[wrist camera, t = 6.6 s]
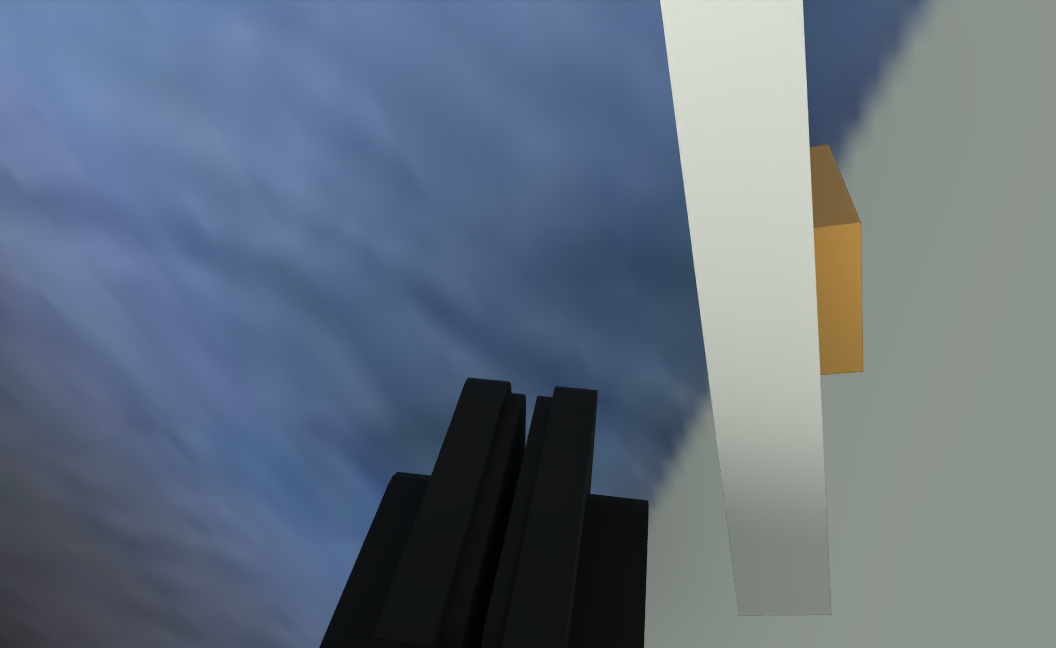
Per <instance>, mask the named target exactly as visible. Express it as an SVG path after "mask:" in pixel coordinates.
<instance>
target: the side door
mask: <svg viewBox="0 0 1056 648" xmlns="http://www.w3.org/2000/svg"><path fill="white" fill-rule="evenodd" d="M660 2H661V10H662V17H663V25H664V33H665V41H666V49H667V56H668V64H669V72H670V80H671V88H672V96H673V103H674V111H675V119H676V127H677V135H678V143H679V150H680V158H681V166H682V174H683V182H684V190H685V197H686V205H687V213H688V221H689V229H690V236H691V244H692V252H693V260H694V268H695V276H696V283H697V291H698V299H699V307H700V315H701V323H702V330H703V338H704V346H705V354H706V362H707V370H708V377H709V385H710V393H711V401H712V409H713V417H714V424H715V432H716V440H717V447H718V456H719V463H720V471H721V479H722V487H723V494H724V502H725V510H726V518H727V525H728V534H729V542H730V549H731V557H732V565H733V573H734V581H735V589H736V596H737V604H738V612H739V616H764V615H765V616H766V615H768V616H769V615H770V616H771V615H831V593H830V573H829V550H828V531H827V530H828V529H827V508H826V488H825V465H824V444H823V425H822V424H823V422H822V402H821V380H820V375H826V374H839V373H852V372H863V334H862V333H863V332H862V331H863V329H862V274H861V273H862V272H861V271H862V266H861V222H860V219H859V217H858V215H857V212H856V210H855V208H854V205H853V202H852V200H851V198H850V195H849V193H848V190H847V188H846V185H845V183H844V181H843V178H842V176H841V173H840V171H839V169H838V166H837V164H836V161H835V159H834V156H833V154H832V152H831V149H830V147H829V144H827V145H820V146H813V147H810V145H809V124H808V103H807V81H806V60H805V39H804V17H803V0H660Z"/></svg>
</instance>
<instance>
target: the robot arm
mask: <svg viewBox="0 0 1056 648" xmlns="http://www.w3.org/2000/svg"><path fill="white" fill-rule="evenodd" d="M597 394H598V391H597V390H588V389H578V388H568V387H558V386H556V387H555V389H554V394H553V397H545V396H538V397H537V400H536V404H535V408H534V413H533V417H532V421H531V426H530V430H529V434H528V439H527V443H526V447H525V427H526V396H525V394H515V393H511V383H510V382H508V381H498V380H488V379H478V378H468V379H467V380H466V382H465V384H464V387H463V390H462V392H461V395H460V398H459V401H458V403H457V406H456V409H455V412H454V414H453V417H452V420H451V423H450V425H449V428H448V431H447V434H446V437H445V439H444V442H443V445H442V448H441V450H440V453H439V456H438V459H437V461H436V464H435V467H434V470H433V472H432V475H431V476H428V475H420V474H411V473H402V472H397V473H396V474H394V475H393V477H392V479H391V480H390V482H389V484H388V486H387V489H386V491H385V493H384V496H383V498H382V501H381V503H380V505H379V508H378V510H377V512H376V515H375V517H374V519H373V522H372V524H371V527H370V529H369V531H368V534H367V536H366V538H365V541H364V543H363V546H362V548H361V550H360V553H359V555H358V557H357V560H356V562H355V565H354V567H353V569H352V572H351V574H350V576H349V579H348V581H347V583H346V586H345V588H344V591H343V593H342V595H341V598H340V600H339V602H338V605H337V607H336V610H335V612H334V614H333V617H332V619H331V621H330V624H329V626H328V628H327V631H326V633H325V636H324V638H323V640H322V643H321V645H320V647H319V648H644V629H645V599H646V598H645V597H646V569H647V540H648V507H649V505H648V501H647V500H638V499H629V498H621V497H612V496H603V495H595V494H590V489H591V476H592V463H593V449H594V436H595V423H596V409H597Z"/></svg>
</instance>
